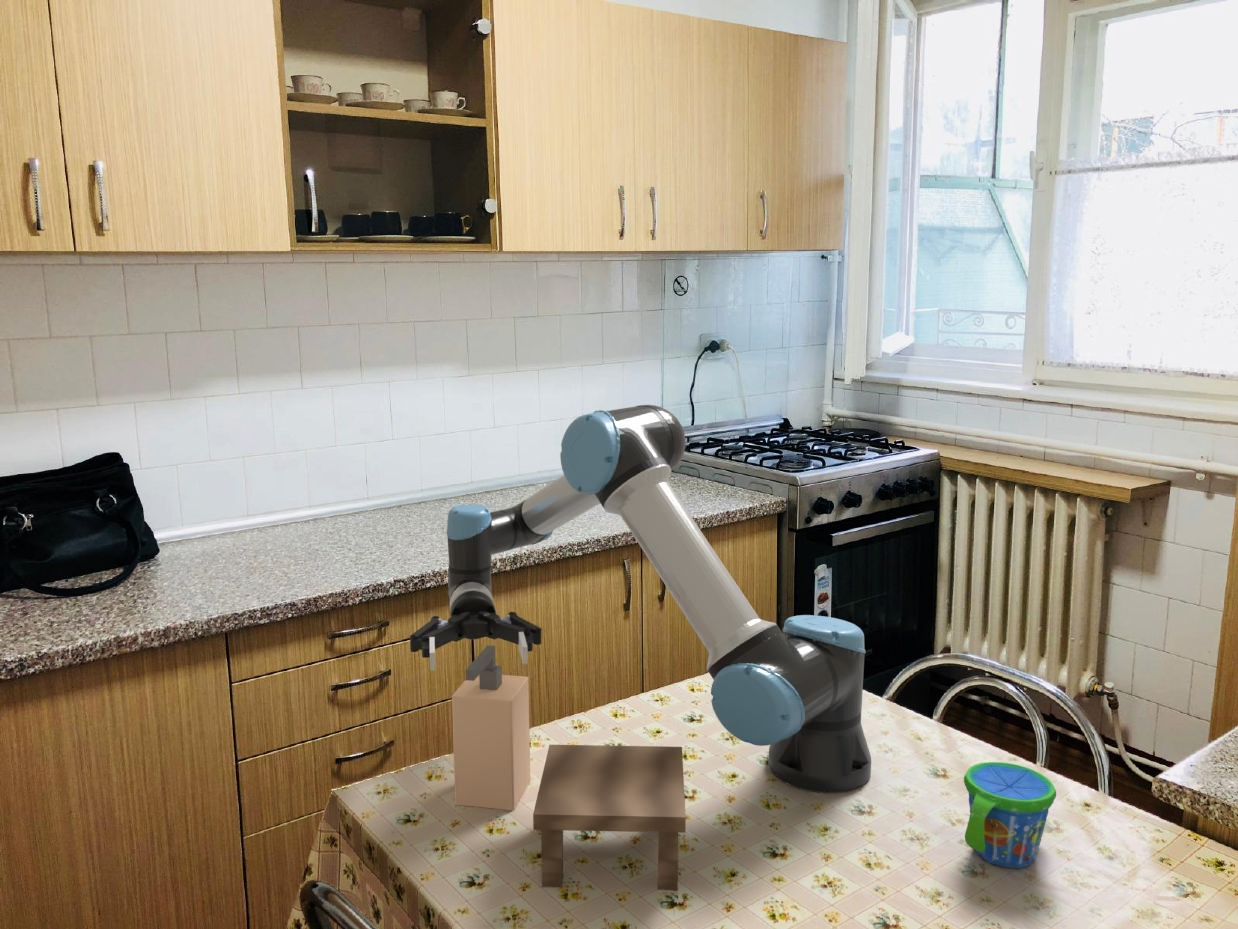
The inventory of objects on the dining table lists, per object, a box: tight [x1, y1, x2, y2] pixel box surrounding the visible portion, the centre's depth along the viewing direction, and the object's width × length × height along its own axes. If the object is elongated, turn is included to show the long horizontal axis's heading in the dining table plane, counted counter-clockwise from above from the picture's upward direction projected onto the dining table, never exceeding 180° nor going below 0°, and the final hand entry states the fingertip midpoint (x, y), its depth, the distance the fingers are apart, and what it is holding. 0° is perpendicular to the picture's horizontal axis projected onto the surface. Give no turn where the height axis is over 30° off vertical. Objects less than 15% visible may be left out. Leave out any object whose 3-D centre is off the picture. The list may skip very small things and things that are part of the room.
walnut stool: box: [532, 744, 687, 891], centre depth 127 cm, size 18×18×10 cm
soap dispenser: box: [451, 645, 531, 811], centre depth 138 cm, size 13×9×22 cm
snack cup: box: [963, 761, 1057, 869], centre depth 126 cm, size 16×10×10 cm
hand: (479, 658), depth 147 cm, fingers open, 13 cm apart
